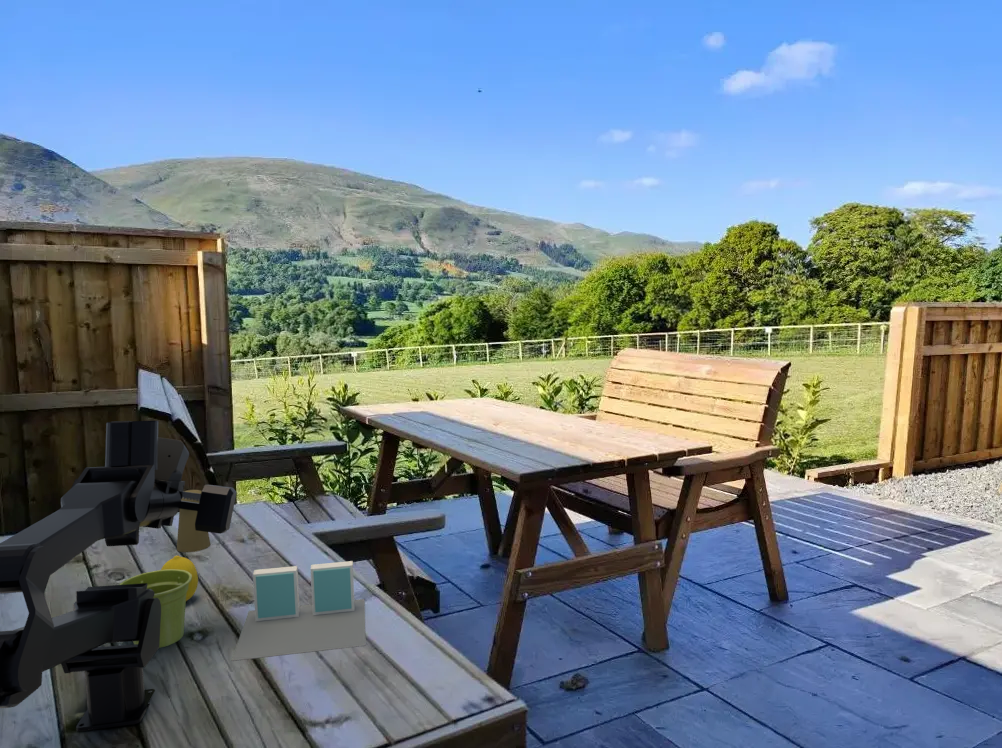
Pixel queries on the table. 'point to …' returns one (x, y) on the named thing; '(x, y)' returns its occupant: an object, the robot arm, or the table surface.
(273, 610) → the tile
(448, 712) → the table surface
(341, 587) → the tile
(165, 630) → the plant pot
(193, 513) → the cork
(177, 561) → the lemon
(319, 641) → the slate mat
